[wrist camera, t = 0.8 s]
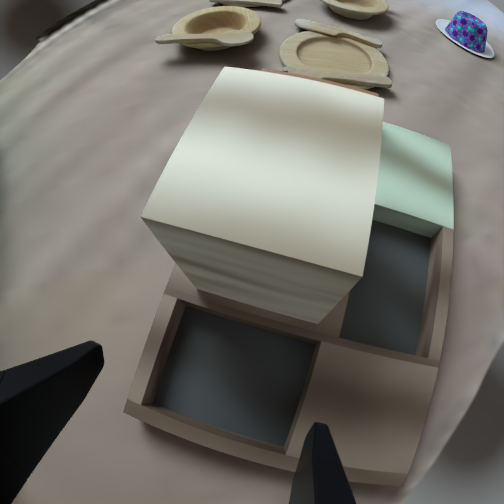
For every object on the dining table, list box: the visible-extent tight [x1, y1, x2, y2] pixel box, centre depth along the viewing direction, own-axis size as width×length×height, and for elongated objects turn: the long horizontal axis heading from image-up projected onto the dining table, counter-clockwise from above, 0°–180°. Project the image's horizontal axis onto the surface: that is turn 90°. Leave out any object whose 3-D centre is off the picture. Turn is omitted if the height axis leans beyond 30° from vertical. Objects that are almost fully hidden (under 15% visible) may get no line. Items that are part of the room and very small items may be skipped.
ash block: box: [141, 67, 384, 324], centre depth 17 cm, size 9×8×10 cm
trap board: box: [124, 68, 454, 487], centre depth 21 cm, size 28×19×6 cm
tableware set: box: [155, 0, 392, 90], centre depth 35 cm, size 35×29×4 cm
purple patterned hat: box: [436, 11, 494, 58], centre depth 35 cm, size 12×12×5 cm
